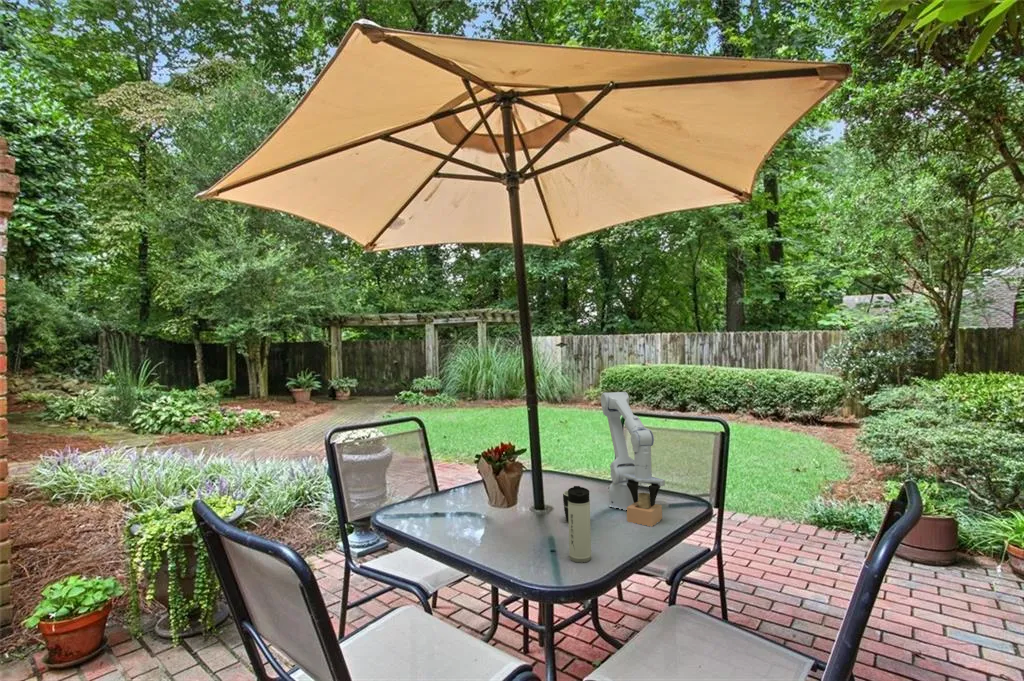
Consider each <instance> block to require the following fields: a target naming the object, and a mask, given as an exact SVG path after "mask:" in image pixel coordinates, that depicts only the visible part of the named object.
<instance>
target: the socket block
mask: <svg viewBox="0 0 1024 681" xmlns="http://www.w3.org/2000/svg"><path fill="white" fill-rule="evenodd" d="M661 519H662V520H663V505H662V504H659V503H655V505H654V506H651V505H650V509H643V508H638V502H636V503H633V504H631V505H630V506H628V507H627V511H626V522H627V521H628V522H627V523H630V522H633V523H632V524H635V523H637V524H636V525H640V524H642V525H641V526H644V525H647V526H646V527H649V526H651V527H650V528H653V527H654V526H656V523H657V522H658V523H659V522H661V521H662V520H661ZM660 520H661V521H660ZM658 523H657V524H658ZM653 525H654V526H653ZM652 526H653V527H652Z"/></svg>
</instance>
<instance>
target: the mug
mask: <svg viewBox="0 0 1024 681" xmlns="http://www.w3.org/2000/svg"><path fill="white" fill-rule="evenodd" d="M568 490H569V489H567V490H565V491H563V492H562V500H563V510H564V516H565V519H566V520H565V521H566V522H567V524H569V520H568Z"/></svg>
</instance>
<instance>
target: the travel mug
mask: <svg viewBox="0 0 1024 681" xmlns="http://www.w3.org/2000/svg"><path fill="white" fill-rule="evenodd" d="M567 490H568V520H569V523H568V545H569V546H568V548H569V551H568V552H569V559H570V560H571V562H575V563H578V562H581V564H582V563H583V562H584V563H587V562H590V561H591V560H592V540H591V539H592V538H591V536H592V535H591V534H592V532H591V504H590V502H591V500H590V490H589V489H588V488H585V487H582V486H581V485H573V487H570V488H568V489H567ZM584 563H583V564H584Z"/></svg>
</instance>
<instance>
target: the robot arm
mask: <svg viewBox="0 0 1024 681" xmlns="http://www.w3.org/2000/svg"><path fill="white" fill-rule="evenodd" d="M600 405H601V409H602V410H601V411H602V413H603V415H604V417H606V418H607V423H608V427H609V433H610V436H611V441H612V445H613V452H614V456H615V459H613V461H612V462H611V463H610V466H609V468H610V478H611V481H612V482H611V483H610V485H609V489H608V497H609V498H608V499H609V505H608V507H609V506H610V505H611V506H610V507H612V506H613V507H614V508H613V509H616V508H619V509H618V510H621V509H623V510H622V511H626V510H627V507H628V506H630V505H631V504H633V503H636V502H638V493H639V483H643V484H648V486H647V488H648V491H649V494H650V505H651V506H654V505H655V504H656V501H657V500H656V499H657V496H658V492H659V490H660V488H661V487H664V486H665V483H666V482H665V481H666V480H665V479H664V478H659V477H654V476H653V473H652V472H653V471H652V470H653V469H652V446H653V445H654V443H655V437H654V433H653V431H652V429H650V428H648V427H645V425H644V424H643V422H642V420H641V419H640V417H639V416H638V415H635V414H634V413H633V410H632V408H631V407H630V396H629V394H628V392H626V391H617V392H616V391H613V392H603V393H602V394H601V396H600ZM621 417H622V418H623V419H624V426H625V427H626V430H627V431H628V433H629V434H630V443H631V445H632V446H631V447H632V451H633V452H634V453H633V454H634V455H633V456H634V459H633V458H632V457H630V456H629V452H628V446H627V443H626V439H625V438H626V437H625V433H624V428H623V424H622V420H621ZM610 507H609V508H610Z"/></svg>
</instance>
